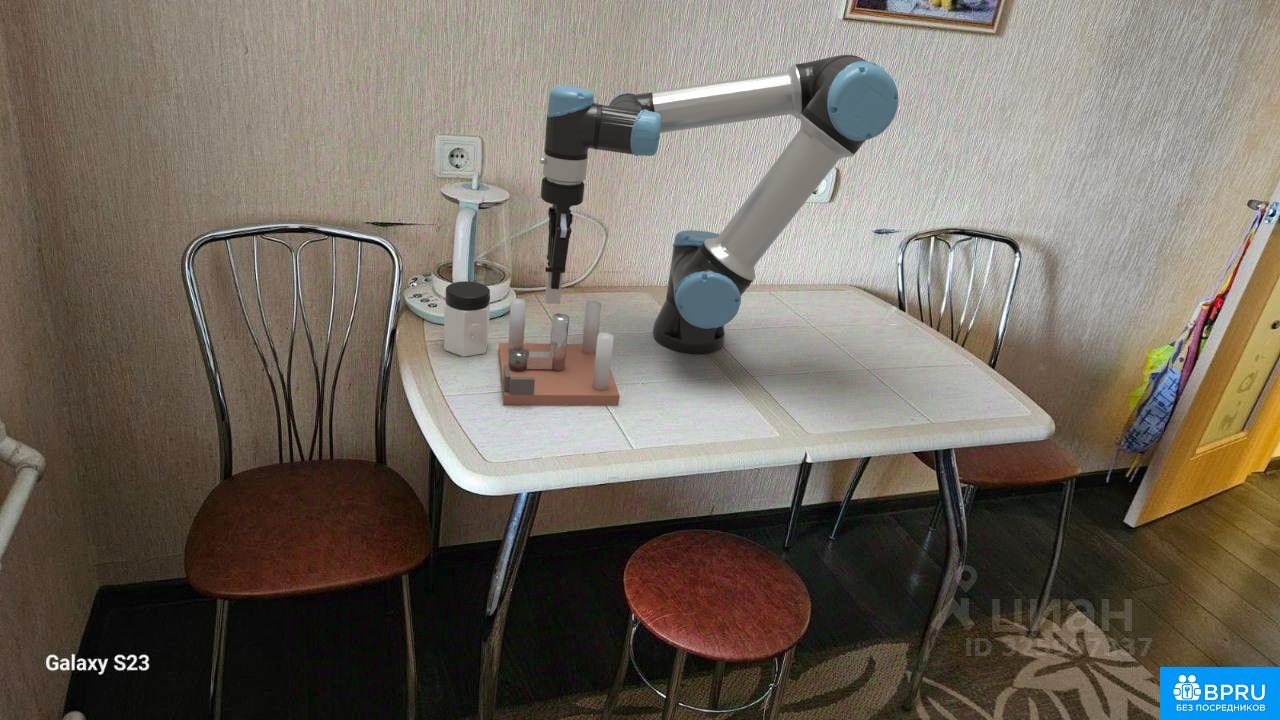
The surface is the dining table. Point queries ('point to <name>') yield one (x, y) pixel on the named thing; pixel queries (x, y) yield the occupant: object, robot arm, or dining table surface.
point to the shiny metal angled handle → (544, 360)
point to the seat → (571, 386)
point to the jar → (466, 318)
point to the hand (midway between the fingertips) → (552, 301)
